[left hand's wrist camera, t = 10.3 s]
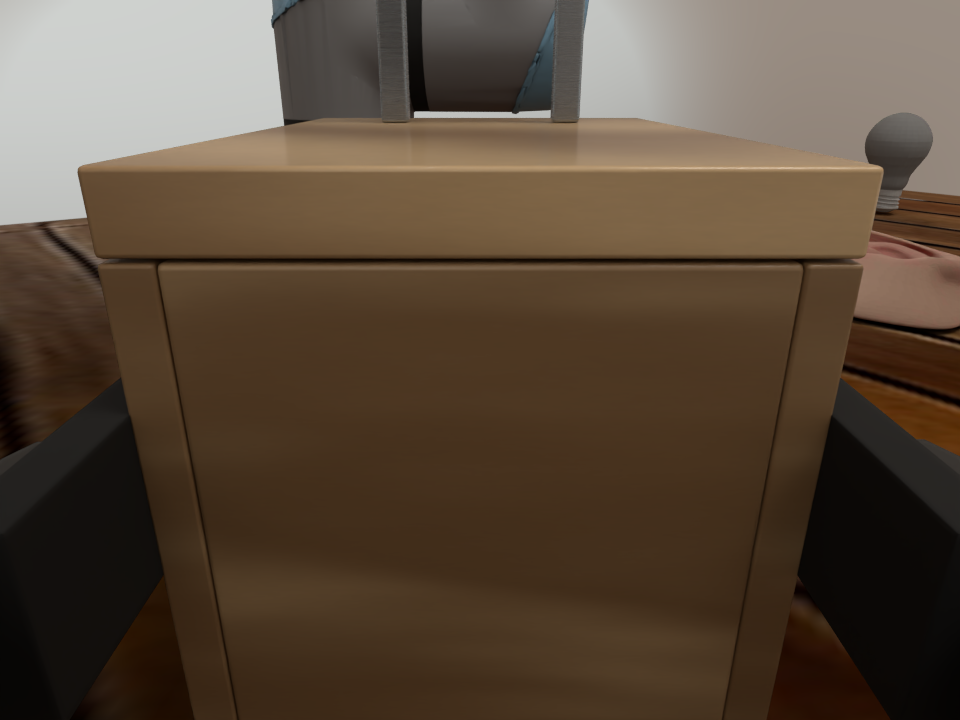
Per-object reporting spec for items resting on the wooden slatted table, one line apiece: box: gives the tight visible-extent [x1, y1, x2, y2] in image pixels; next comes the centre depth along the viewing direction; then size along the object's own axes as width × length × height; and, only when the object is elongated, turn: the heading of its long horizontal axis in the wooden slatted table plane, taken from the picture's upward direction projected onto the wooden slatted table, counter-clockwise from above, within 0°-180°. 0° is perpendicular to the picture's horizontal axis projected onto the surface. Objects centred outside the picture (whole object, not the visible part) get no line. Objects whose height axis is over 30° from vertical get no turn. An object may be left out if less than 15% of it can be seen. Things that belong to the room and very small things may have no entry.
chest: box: [98, 259, 864, 720], centre depth 16 cm, size 13×10×11 cm
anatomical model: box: [851, 230, 960, 329], centre depth 43 cm, size 13×4×12 cm
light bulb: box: [865, 113, 933, 212], centre depth 71 cm, size 6×6×10 cm
